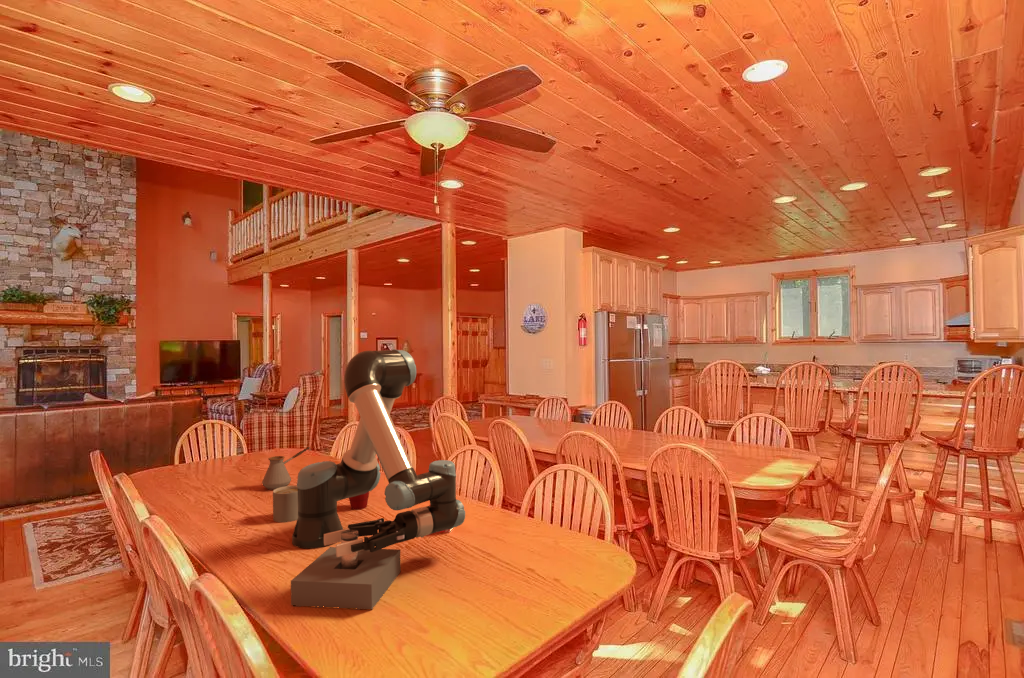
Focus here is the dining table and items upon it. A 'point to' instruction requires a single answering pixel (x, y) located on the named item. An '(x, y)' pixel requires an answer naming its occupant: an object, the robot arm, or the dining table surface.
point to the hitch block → (346, 580)
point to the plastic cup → (359, 501)
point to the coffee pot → (278, 472)
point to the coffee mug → (285, 504)
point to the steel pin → (351, 559)
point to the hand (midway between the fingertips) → (330, 545)
